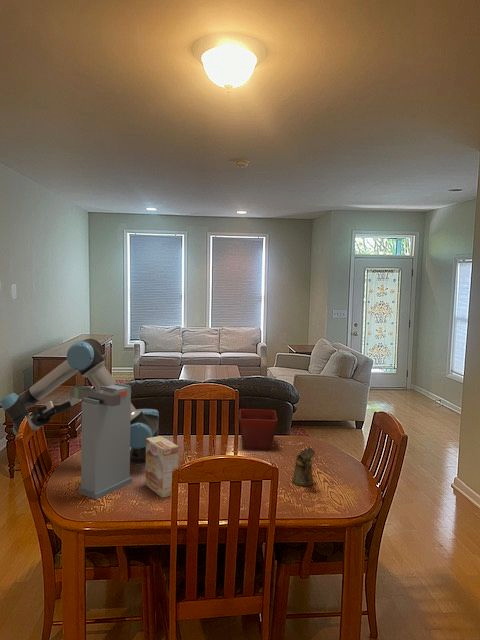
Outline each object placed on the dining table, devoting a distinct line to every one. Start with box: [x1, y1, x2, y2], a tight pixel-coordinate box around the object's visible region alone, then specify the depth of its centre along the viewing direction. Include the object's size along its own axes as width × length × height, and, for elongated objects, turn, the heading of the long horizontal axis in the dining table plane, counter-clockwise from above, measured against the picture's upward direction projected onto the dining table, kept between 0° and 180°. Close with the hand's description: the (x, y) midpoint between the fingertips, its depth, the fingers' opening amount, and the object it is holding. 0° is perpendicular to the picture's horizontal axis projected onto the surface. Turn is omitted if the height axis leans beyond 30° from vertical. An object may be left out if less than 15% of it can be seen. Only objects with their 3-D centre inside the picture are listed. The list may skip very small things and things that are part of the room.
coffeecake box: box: [144, 435, 179, 499], centre depth 186 cm, size 15×7×20 cm, turn 37°
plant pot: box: [238, 408, 278, 451], centre depth 241 cm, size 19×19×17 cm
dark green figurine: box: [291, 447, 315, 487], centre depth 195 cm, size 9×14×18 cm, turn 3°
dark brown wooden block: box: [69, 385, 120, 407], centre depth 181 cm, size 24×4×4 cm, turn 58°
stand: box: [77, 383, 133, 500], centre depth 185 cm, size 10×19×41 cm, turn 148°
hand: (66, 400), depth 190 cm, fingers open, 13 cm apart
